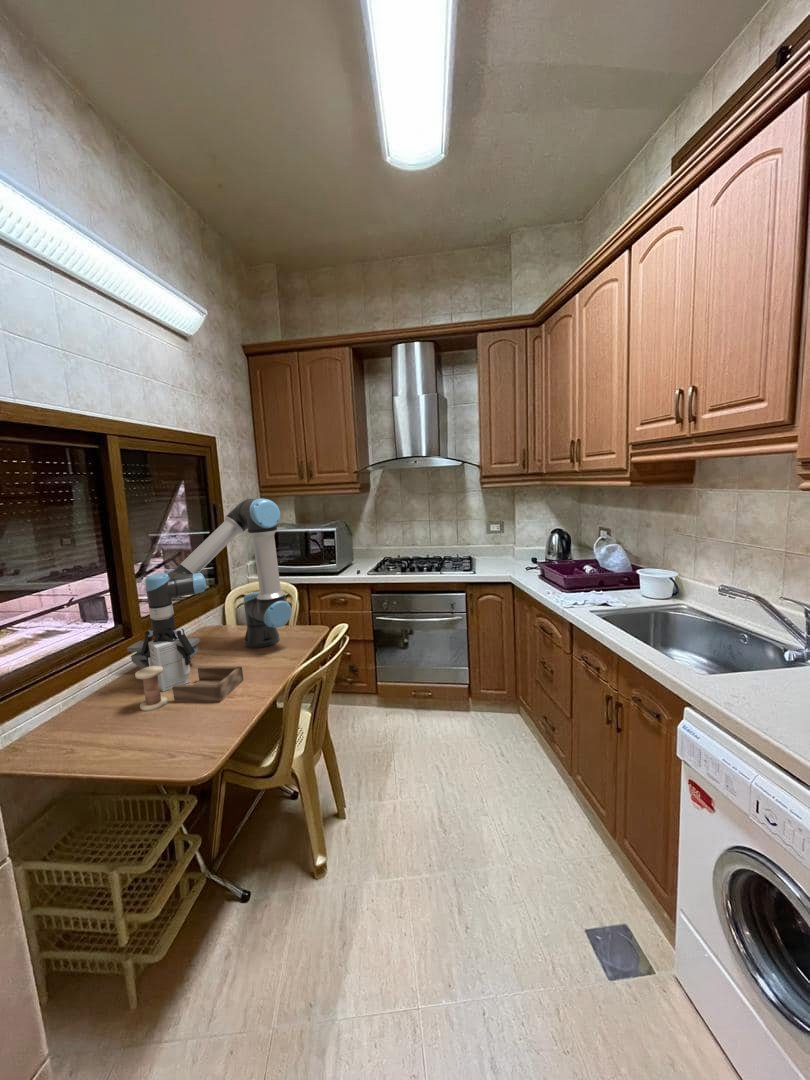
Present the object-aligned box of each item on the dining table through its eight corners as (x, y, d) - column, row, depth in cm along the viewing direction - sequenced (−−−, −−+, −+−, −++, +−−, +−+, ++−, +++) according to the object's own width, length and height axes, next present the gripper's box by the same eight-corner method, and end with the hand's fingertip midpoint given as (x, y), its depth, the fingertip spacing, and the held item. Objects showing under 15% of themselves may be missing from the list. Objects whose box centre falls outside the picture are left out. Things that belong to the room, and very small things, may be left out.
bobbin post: (151, 698, 154) (146, 665, 153) (172, 698, 153) (168, 665, 152) (134, 710, 147) (129, 676, 145) (157, 711, 146) (151, 676, 144)
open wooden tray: (201, 680, 167) (200, 666, 166) (243, 680, 164) (241, 666, 164) (174, 701, 151) (172, 687, 150) (220, 702, 149) (218, 687, 148)
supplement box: (181, 675, 172) (175, 633, 169) (190, 682, 165) (184, 638, 163) (153, 685, 165) (147, 641, 163) (161, 692, 159) (155, 647, 156)
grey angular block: (202, 663, 183) (199, 637, 181) (193, 671, 175) (189, 645, 174) (143, 666, 184) (139, 640, 182) (131, 674, 176) (126, 648, 175)
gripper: (123, 621, 160) (132, 677, 163) (187, 619, 156) (195, 677, 159) (138, 614, 167) (147, 668, 170) (200, 613, 164) (207, 668, 167)
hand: (170, 673), depth 165 cm, fingers closed on supplement box, 12 cm apart
